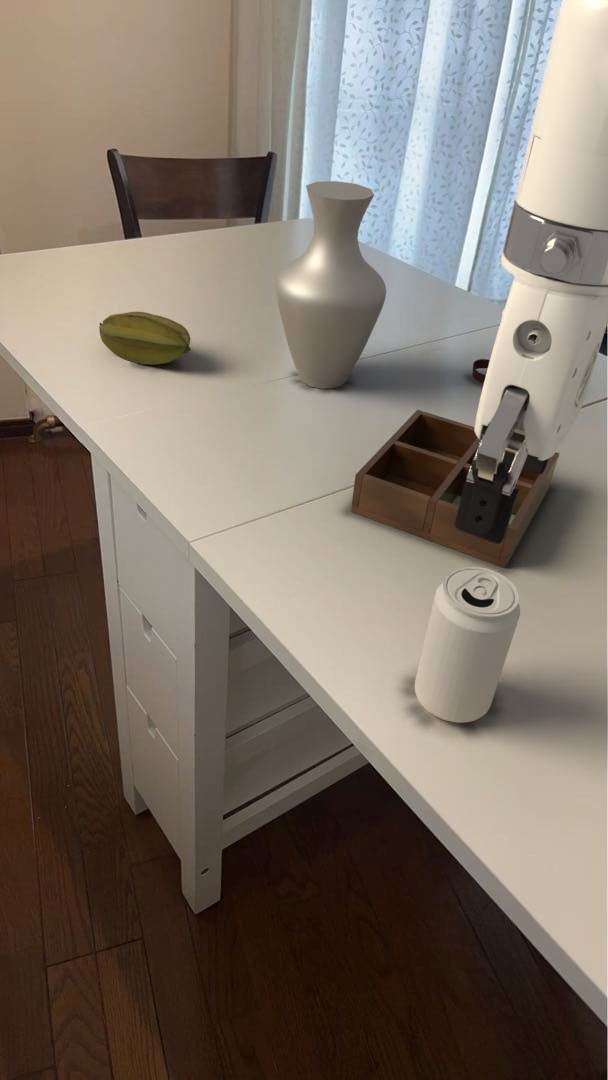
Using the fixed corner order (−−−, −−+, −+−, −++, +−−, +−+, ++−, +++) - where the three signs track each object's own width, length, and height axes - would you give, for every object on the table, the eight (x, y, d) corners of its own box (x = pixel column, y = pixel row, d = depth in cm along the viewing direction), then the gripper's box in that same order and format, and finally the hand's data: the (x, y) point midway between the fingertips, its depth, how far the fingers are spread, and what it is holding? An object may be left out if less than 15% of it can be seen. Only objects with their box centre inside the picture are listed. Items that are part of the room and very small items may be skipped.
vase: (395, 385, 111) (424, 196, 96) (318, 413, 103) (337, 212, 88) (325, 348, 120) (342, 169, 104) (249, 371, 112) (256, 181, 96)
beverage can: (401, 708, 65) (425, 598, 58) (429, 659, 70) (454, 552, 62) (475, 740, 63) (510, 631, 56) (499, 688, 68) (534, 580, 60)
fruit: (177, 339, 118) (176, 296, 114) (193, 375, 109) (193, 329, 105) (98, 344, 115) (94, 299, 111) (109, 382, 106) (104, 335, 102)
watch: (525, 381, 115) (532, 358, 113) (521, 395, 112) (527, 371, 110) (473, 370, 117) (478, 347, 115) (467, 383, 113) (472, 359, 111)
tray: (548, 488, 93) (559, 453, 90) (504, 568, 81) (516, 530, 78) (411, 443, 99) (417, 409, 96) (350, 511, 86) (355, 474, 84)
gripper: (610, 310, 37) (517, 589, 47) (668, 225, 49) (585, 461, 59) (456, 271, 39) (401, 543, 50) (549, 199, 51) (489, 430, 62)
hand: (501, 498), depth 55 cm, fingers open, 9 cm apart
